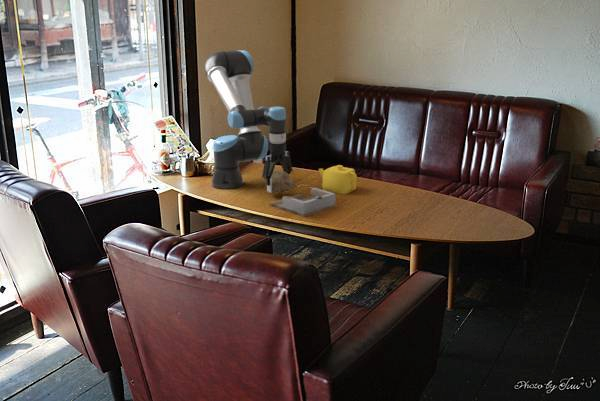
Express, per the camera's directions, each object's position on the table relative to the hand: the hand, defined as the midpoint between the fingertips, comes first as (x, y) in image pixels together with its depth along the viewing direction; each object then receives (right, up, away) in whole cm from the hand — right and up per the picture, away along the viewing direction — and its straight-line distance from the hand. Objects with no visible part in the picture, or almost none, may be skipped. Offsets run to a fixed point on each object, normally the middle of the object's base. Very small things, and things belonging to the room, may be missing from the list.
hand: (277, 189), depth 295 cm
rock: (0, -1, +1) cm, 1 cm away
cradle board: (+11, -7, -15) cm, 20 cm away
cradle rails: (+15, -7, -19) cm, 25 cm away
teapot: (+28, 0, +9) cm, 29 cm away
